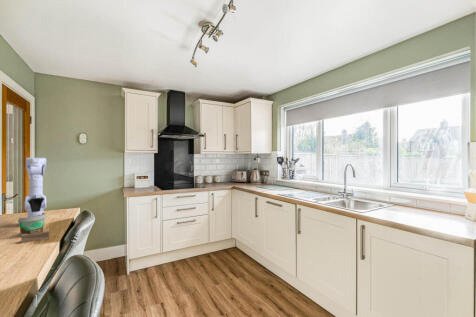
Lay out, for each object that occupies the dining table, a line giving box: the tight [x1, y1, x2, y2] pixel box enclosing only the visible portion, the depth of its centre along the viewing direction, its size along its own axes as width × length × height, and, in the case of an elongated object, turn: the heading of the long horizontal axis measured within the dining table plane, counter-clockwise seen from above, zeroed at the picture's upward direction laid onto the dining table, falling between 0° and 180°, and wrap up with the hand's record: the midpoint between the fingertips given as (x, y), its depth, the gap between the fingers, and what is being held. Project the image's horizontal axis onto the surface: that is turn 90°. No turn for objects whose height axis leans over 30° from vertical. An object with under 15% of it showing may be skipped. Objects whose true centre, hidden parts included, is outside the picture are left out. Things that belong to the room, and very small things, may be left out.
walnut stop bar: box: [20, 230, 50, 244], centre depth 110 cm, size 3×10×3 cm, turn 132°
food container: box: [17, 212, 47, 237], centre depth 118 cm, size 12×6×10 cm, turn 168°
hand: (35, 211), depth 124 cm, fingers open, 7 cm apart
